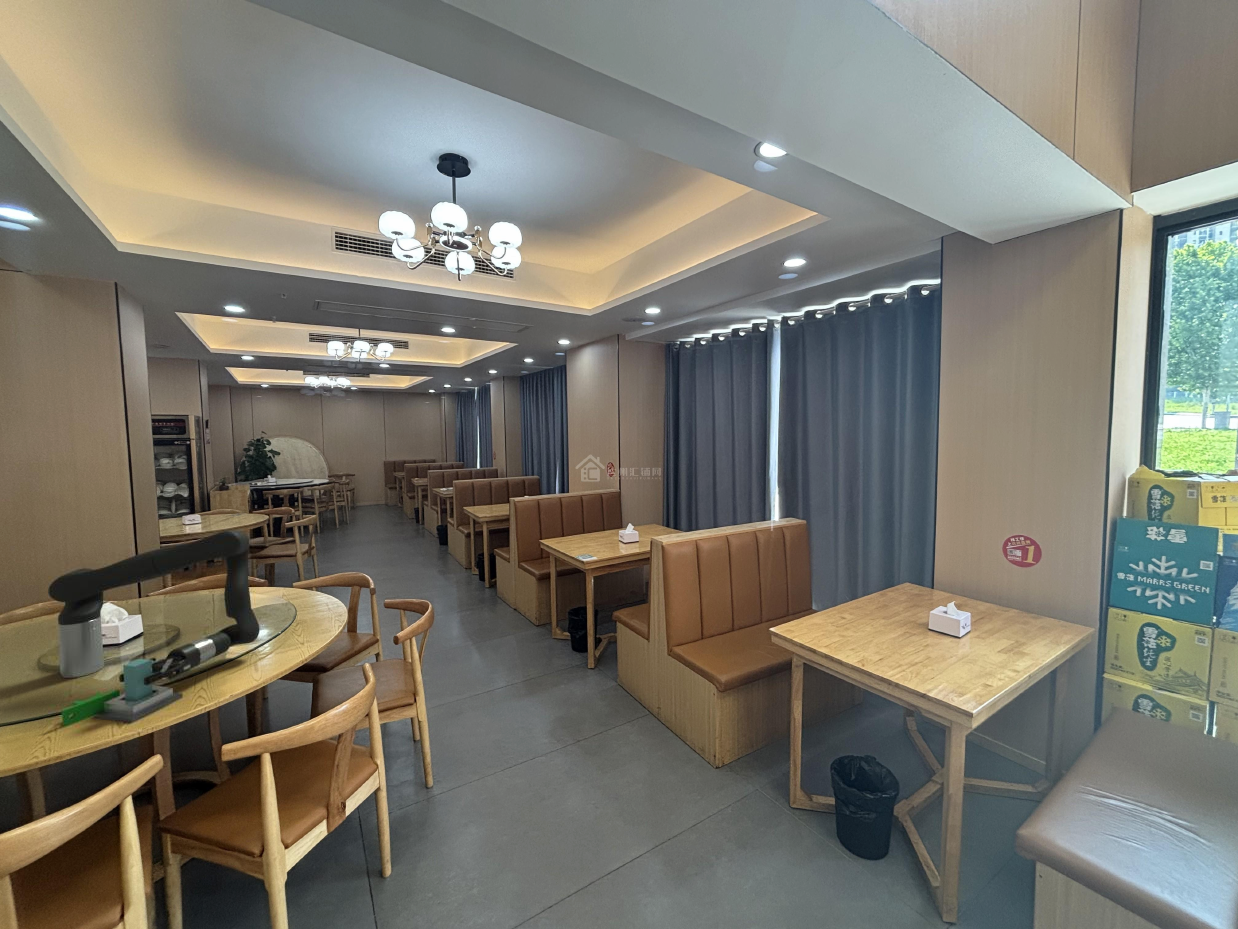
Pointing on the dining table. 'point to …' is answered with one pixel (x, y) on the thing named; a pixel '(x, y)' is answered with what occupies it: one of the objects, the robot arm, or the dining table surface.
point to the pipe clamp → (86, 707)
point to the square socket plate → (134, 718)
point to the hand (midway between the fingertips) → (132, 680)
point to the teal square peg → (137, 680)
